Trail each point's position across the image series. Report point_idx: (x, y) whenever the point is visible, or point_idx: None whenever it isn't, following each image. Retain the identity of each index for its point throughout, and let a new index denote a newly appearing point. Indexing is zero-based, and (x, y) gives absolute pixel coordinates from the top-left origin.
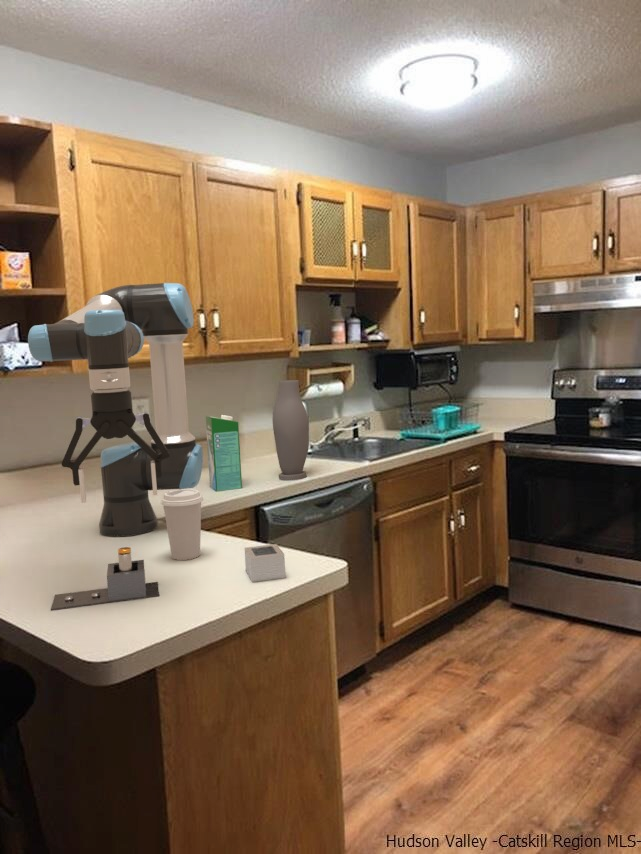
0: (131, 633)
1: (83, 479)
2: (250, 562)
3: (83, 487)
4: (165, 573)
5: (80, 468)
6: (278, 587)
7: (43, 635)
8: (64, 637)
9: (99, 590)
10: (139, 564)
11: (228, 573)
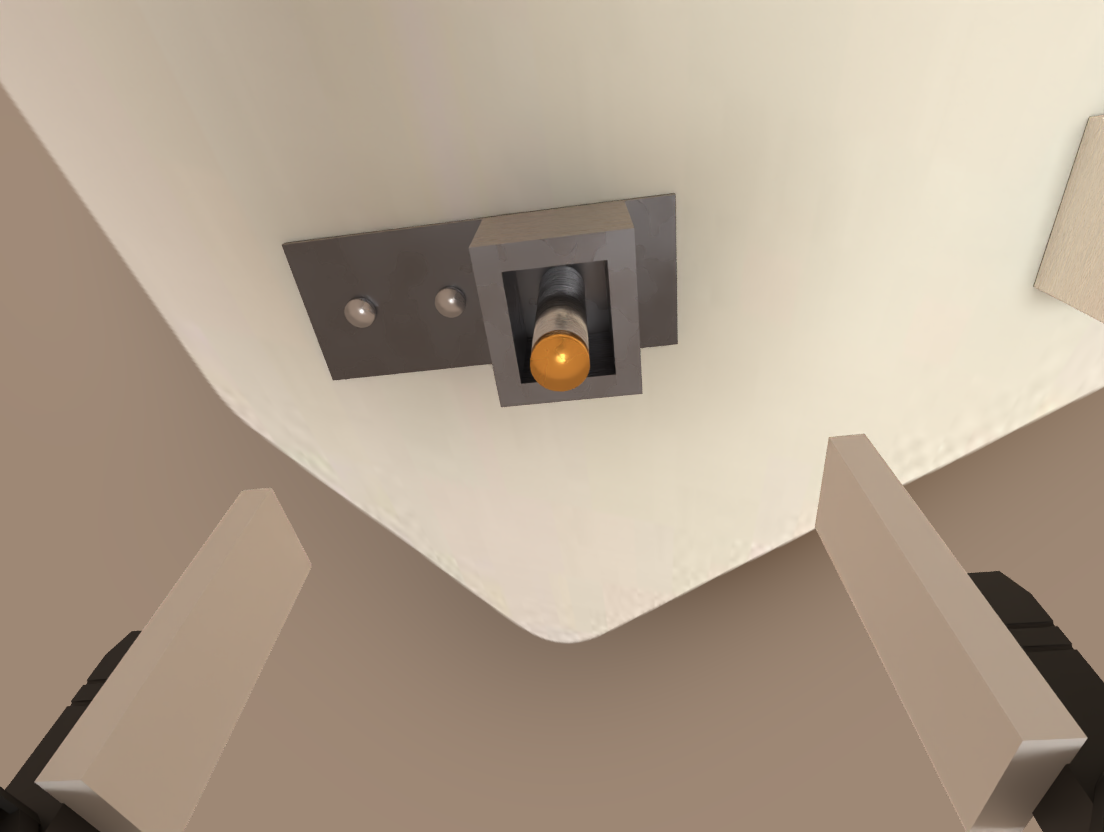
0: (606, 558)
1: (222, 727)
2: (1095, 307)
3: (257, 666)
4: (714, 44)
5: (107, 825)
6: (1090, 361)
7: (391, 525)
8: (449, 545)
9: (447, 241)
10: (618, 299)
11: (996, 139)
